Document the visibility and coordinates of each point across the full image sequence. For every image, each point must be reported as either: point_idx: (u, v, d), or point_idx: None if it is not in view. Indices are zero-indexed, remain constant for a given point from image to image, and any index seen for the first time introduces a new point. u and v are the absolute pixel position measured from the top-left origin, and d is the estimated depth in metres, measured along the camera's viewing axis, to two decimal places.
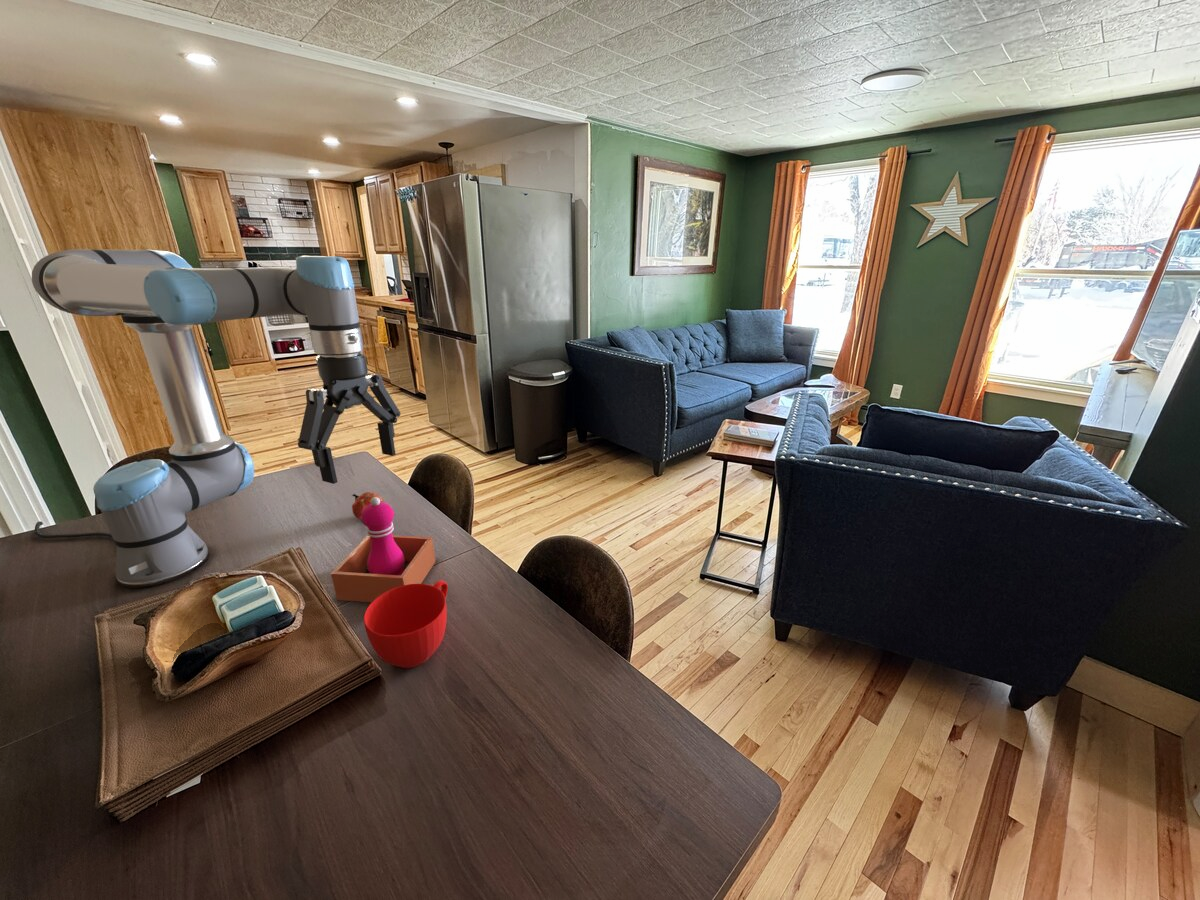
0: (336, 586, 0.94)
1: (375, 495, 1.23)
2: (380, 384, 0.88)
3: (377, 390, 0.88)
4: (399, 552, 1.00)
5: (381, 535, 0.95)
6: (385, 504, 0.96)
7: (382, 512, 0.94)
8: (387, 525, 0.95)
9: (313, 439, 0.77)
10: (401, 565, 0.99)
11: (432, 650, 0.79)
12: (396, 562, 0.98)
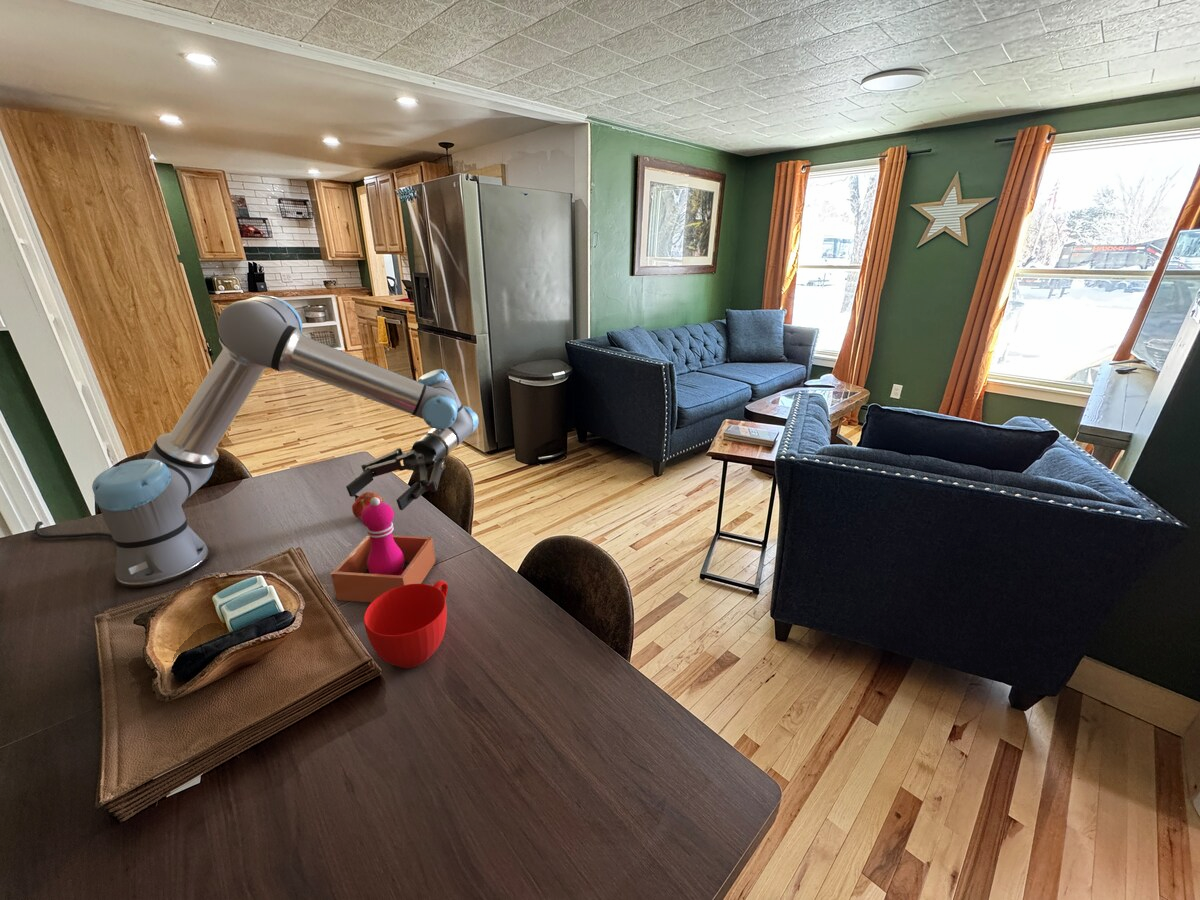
0: (336, 586, 0.94)
1: (375, 495, 1.23)
2: (438, 462, 1.10)
3: None
4: (399, 552, 0.99)
5: (381, 535, 0.95)
6: (385, 504, 0.96)
7: (382, 512, 0.94)
8: (387, 525, 0.95)
9: (368, 462, 1.11)
10: (401, 565, 0.99)
11: (432, 650, 0.79)
12: (395, 563, 0.98)
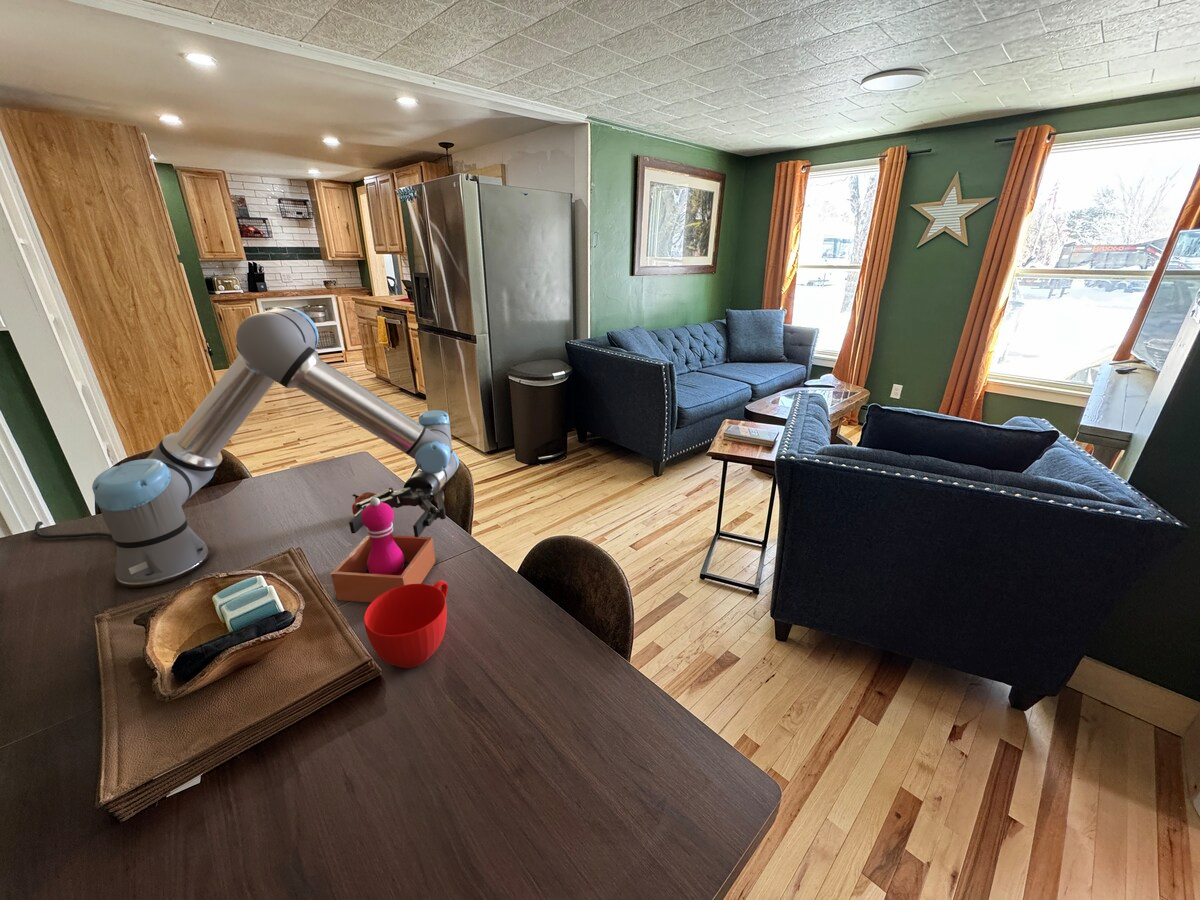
0: (336, 586, 0.94)
1: None
2: (439, 493, 1.11)
3: (436, 499, 1.10)
4: (399, 552, 0.99)
5: (381, 535, 0.95)
6: (385, 504, 0.96)
7: (382, 512, 0.94)
8: (387, 525, 0.95)
9: (363, 501, 1.06)
10: (401, 565, 0.99)
11: (432, 650, 0.79)
12: (396, 563, 0.98)
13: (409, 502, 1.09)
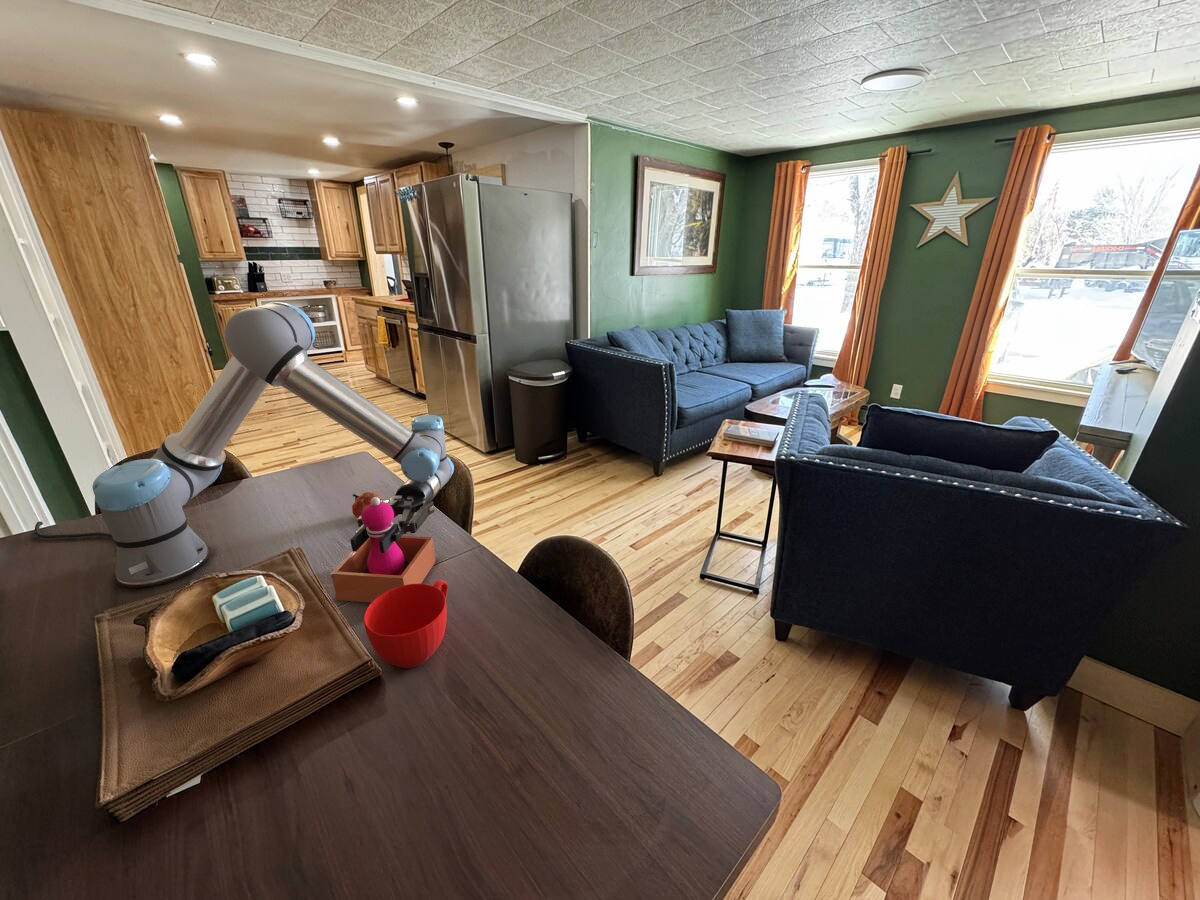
0: (336, 586, 0.94)
1: (375, 495, 1.23)
2: (426, 504, 1.06)
3: None
4: (399, 552, 1.00)
5: (381, 535, 0.95)
6: (385, 504, 0.96)
7: (382, 512, 0.94)
8: (387, 525, 0.95)
9: None
10: (401, 565, 0.99)
11: (432, 650, 0.79)
12: (396, 562, 0.98)
13: (400, 511, 1.05)
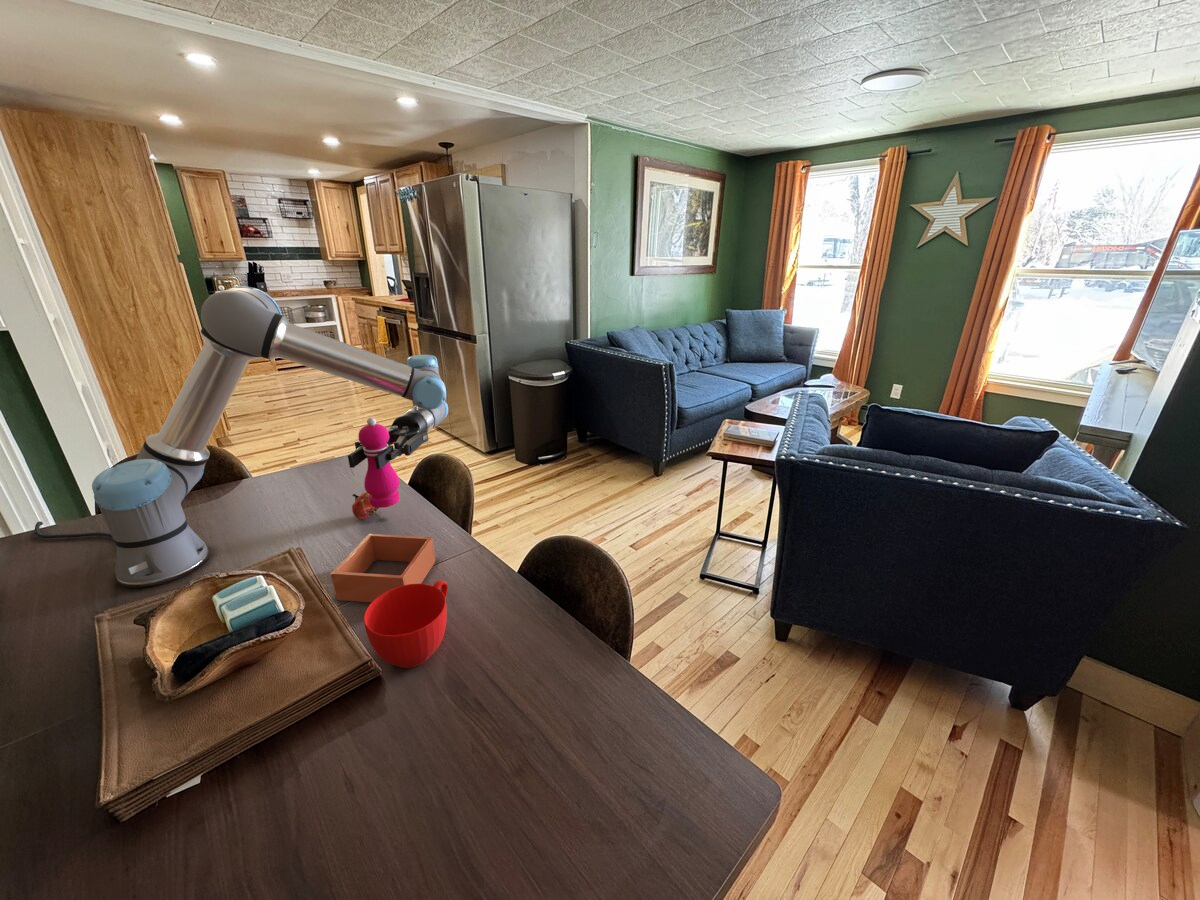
0: (336, 586, 0.94)
1: None
2: (420, 433, 1.11)
3: None
4: (394, 473, 1.05)
5: (377, 454, 1.00)
6: (381, 425, 1.01)
7: (378, 431, 0.99)
8: (383, 445, 1.01)
9: None
10: (396, 486, 1.05)
11: (432, 650, 0.79)
12: (391, 482, 1.04)
13: (396, 438, 1.11)
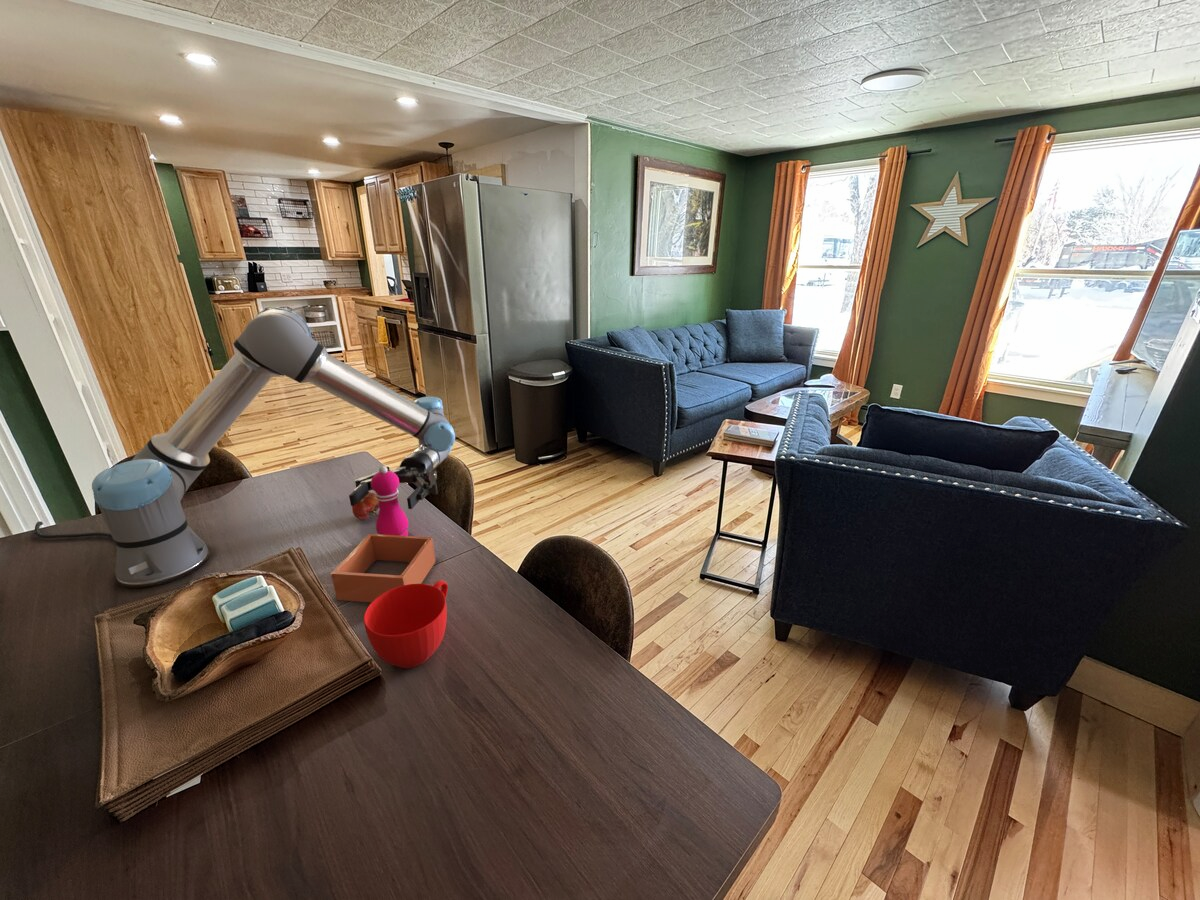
0: (336, 586, 0.94)
1: (375, 495, 1.23)
2: (432, 472, 1.20)
3: (429, 477, 1.20)
4: (404, 515, 1.13)
5: (388, 499, 1.09)
6: (391, 472, 1.09)
7: (389, 479, 1.07)
8: (393, 491, 1.09)
9: (362, 478, 1.16)
10: (405, 527, 1.13)
11: (432, 650, 0.79)
12: (401, 524, 1.12)
13: (404, 479, 1.19)
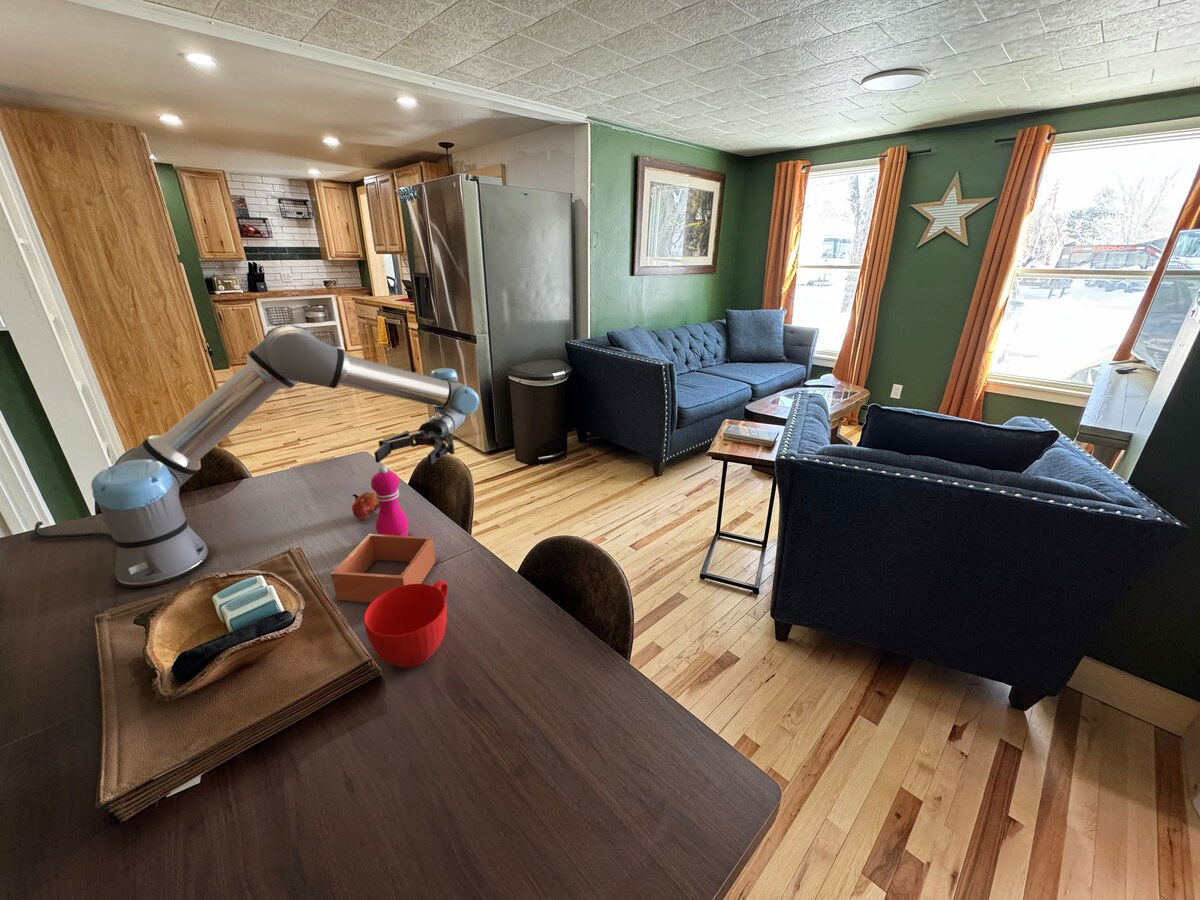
0: (336, 586, 0.94)
1: (375, 495, 1.23)
2: (448, 435, 1.30)
3: (446, 439, 1.30)
4: (404, 515, 1.13)
5: (388, 499, 1.09)
6: (391, 472, 1.09)
7: (389, 479, 1.07)
8: (393, 491, 1.09)
9: (384, 439, 1.26)
10: (405, 527, 1.13)
11: (432, 650, 0.79)
12: (401, 524, 1.12)
13: (423, 441, 1.29)
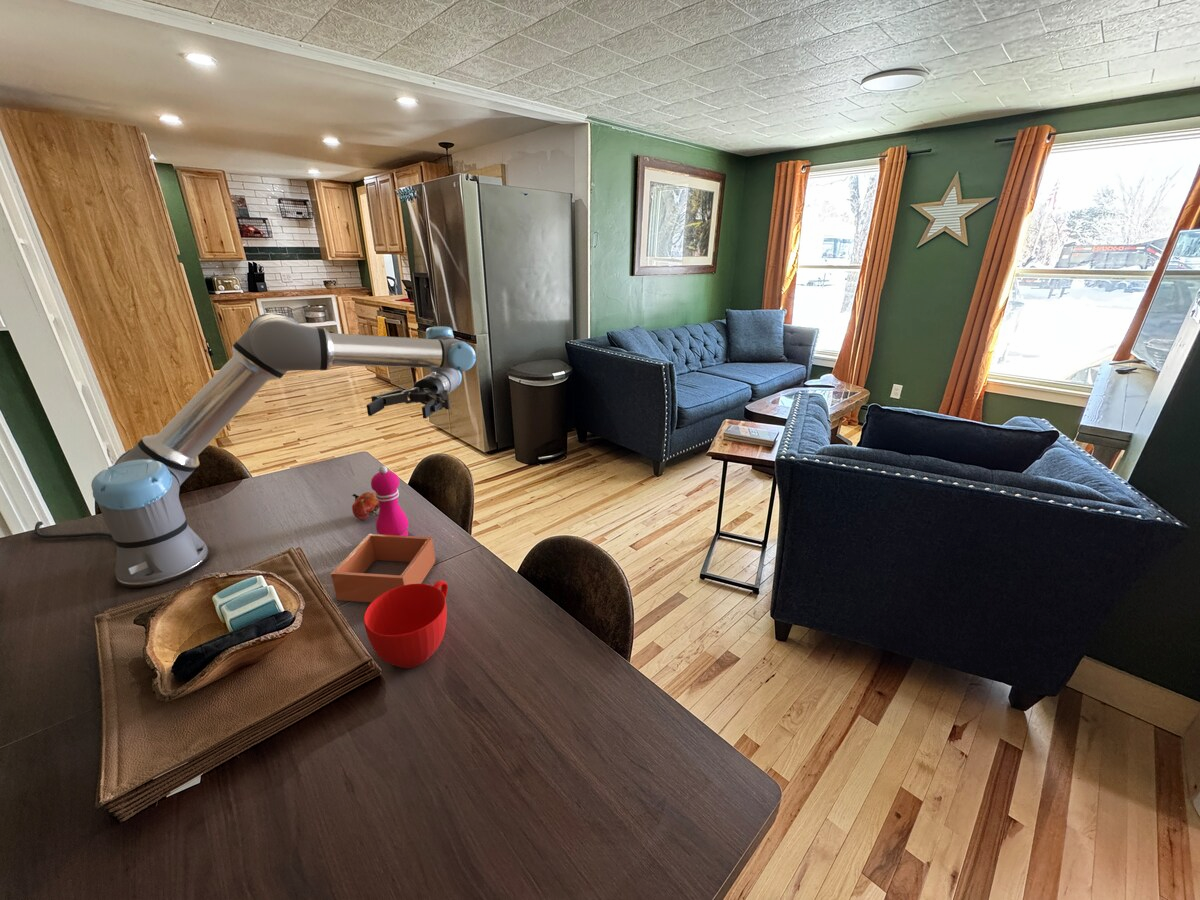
0: (336, 586, 0.94)
1: (375, 495, 1.23)
2: (444, 392, 1.26)
3: (442, 396, 1.25)
4: (404, 515, 1.13)
5: (388, 499, 1.09)
6: (391, 472, 1.09)
7: (389, 479, 1.07)
8: (393, 491, 1.09)
9: (377, 395, 1.21)
10: (405, 527, 1.13)
11: (432, 650, 0.79)
12: (401, 524, 1.12)
13: (418, 398, 1.24)
